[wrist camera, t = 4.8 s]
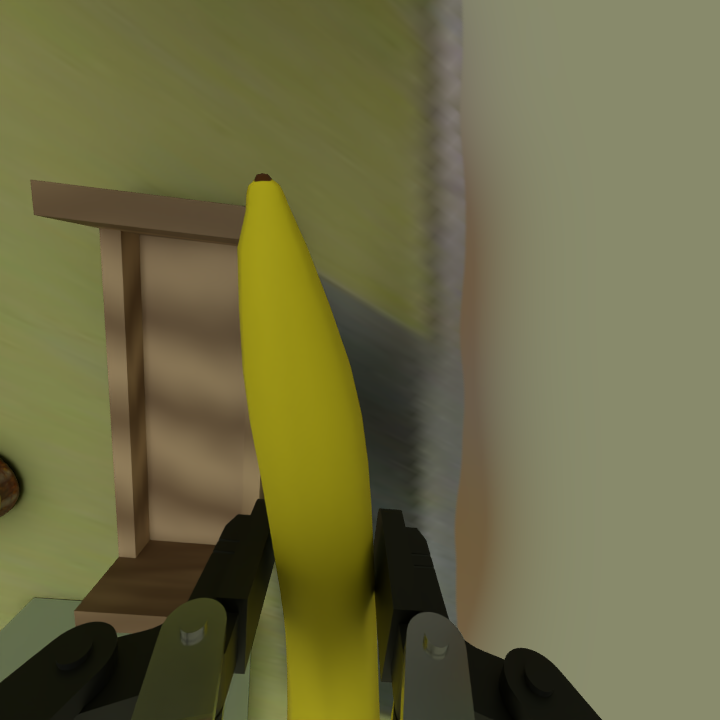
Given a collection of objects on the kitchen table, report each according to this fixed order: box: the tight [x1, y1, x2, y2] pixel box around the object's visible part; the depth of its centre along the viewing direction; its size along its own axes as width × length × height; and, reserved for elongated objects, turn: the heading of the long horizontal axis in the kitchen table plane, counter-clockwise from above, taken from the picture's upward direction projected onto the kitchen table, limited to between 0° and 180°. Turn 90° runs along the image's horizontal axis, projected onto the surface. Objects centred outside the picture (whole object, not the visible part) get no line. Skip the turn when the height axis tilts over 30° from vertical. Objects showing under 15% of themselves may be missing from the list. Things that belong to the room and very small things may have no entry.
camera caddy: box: [0, 598, 251, 720], centre depth 27 cm, size 14×19×8 cm
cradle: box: [31, 180, 265, 634], centre depth 22 cm, size 26×10×7 cm, turn 174°
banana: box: [237, 173, 380, 720], centre depth 9 cm, size 3×19×6 cm, turn 2°
